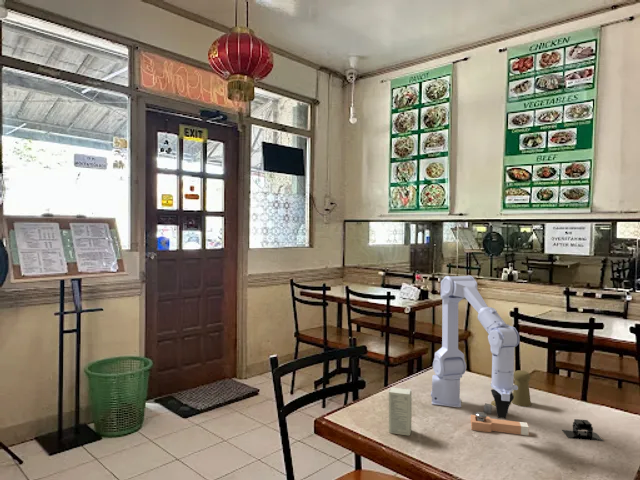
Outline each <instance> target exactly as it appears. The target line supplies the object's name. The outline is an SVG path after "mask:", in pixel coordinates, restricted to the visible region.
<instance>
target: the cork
mask: <svg viewBox="0 0 640 480" xmlns="http://www.w3.org/2000/svg"><path fill="white" fill-rule="evenodd" d="M513 380H514V385H517V386H518V390H513V391H512V393H513V396H514V398H513V400H512V402H511V404H513V405H515V406H518V407H526V408H527V407H531V405H532V403H531V394H530V385H529V382H530V381H531V375H530V373H529V372H528V371H526V370H520V369H519V370H514V379H513Z"/></svg>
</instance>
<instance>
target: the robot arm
mask: <svg viewBox="0 0 640 480" xmlns="http://www.w3.org/2000/svg"><path fill="white" fill-rule="evenodd" d="M440 299H441V300H442V302H441V303H442V304H441V305H442V306H441V309H442V310H441V311H442V313H441V315H442V317H441V319H442V323H441V330H442V331H441V332H442V333H441V334H442V336H441V338H442V339H441V340H442V341H441V347H440V348H439V349H438V350H436V351H435V352H434V358H433V362H432V369H433V372H434V374H432V378H431V379H432V380H431V391H430V397H431V404H432V405H434V406H435V405H436V406H443V407H444V406H445V407H452V408H462V402H461V401H462V400H461V396H460V395H461V393H460V392H461V378H463V375H464V374H465V373H466V372H467V371H466V370H467V363H466V360H465V353H463V352H462V351H461V350H460V349H459V303H460V302H461V301H462V300H463V299H465V300H466V301H467V302H468V303H469V304H470V305H471V307H473V309H474V310H475V311H476V312H477V313H478V314H477V320H478V322H479V323H480V324H481V326H482V327H483V329H484V330H485V331H486V332H487V334H488V335H487V340H488V344H489V345H490V353H491V354H492V355H491V383H490V387H491V388H492V389H491V390H490V392H491V395H492V397H493V399H494V400H495V405H496V406H495V411H496V415H497V418H498V419H506V418H507V415H508V414H509V409H510V403H511V404H512V400H513V398H514V396H513V390H518V386H517V385H515V384H514V380H515V379H514V372H515V347H517V346H518V345H519V343H520V334H519V332H518V330H517V328H516V327H514V326H512V325H510V324H509V323H506V322H505V321H504V320H503V318H502V317H501V316H500V314H499V313H498V311H497V310H496V308H494V307H490V306H488V304H487V302H486V301H485V300H484V298H483V296H482V295H481V293H480V292H479V290H478V282H477V281H476V279H475V278H474V277H473V276H472V275H461V276H460V275H459V276H454V275H453V276H452V275H451V276H449V275H446V276H444V277H443V278H442V279H441V281H440ZM494 400H493V401H494ZM507 413H508V414H507Z"/></svg>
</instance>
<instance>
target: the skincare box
mask: <svg viewBox="0 0 640 480" xmlns="http://www.w3.org/2000/svg"><path fill="white" fill-rule="evenodd" d="M412 398H413V397H412V388H404V387H395V386H391V387H390V388H389V390H388V433H390V434H397V435H402V436H411V433H412V419H413V418H412V417H413V415H412V410H413V409H412V400H413V399H412Z"/></svg>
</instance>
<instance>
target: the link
mask: <svg viewBox="0 0 640 480" xmlns="http://www.w3.org/2000/svg"><path fill="white" fill-rule="evenodd" d="M470 428H471V431H478V432H483V433H484V432H485V433H492V432H499V433H507V434H514V435H521V436H522V435H523V436H530V426H529V425H528V422H523V421H514V420H508V419H507V420H505V419H500V418H498V419H497V418H491V417H490V416H487V417H486V418H484V422H482V421H477V417H476V416H475V414H470Z"/></svg>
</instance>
